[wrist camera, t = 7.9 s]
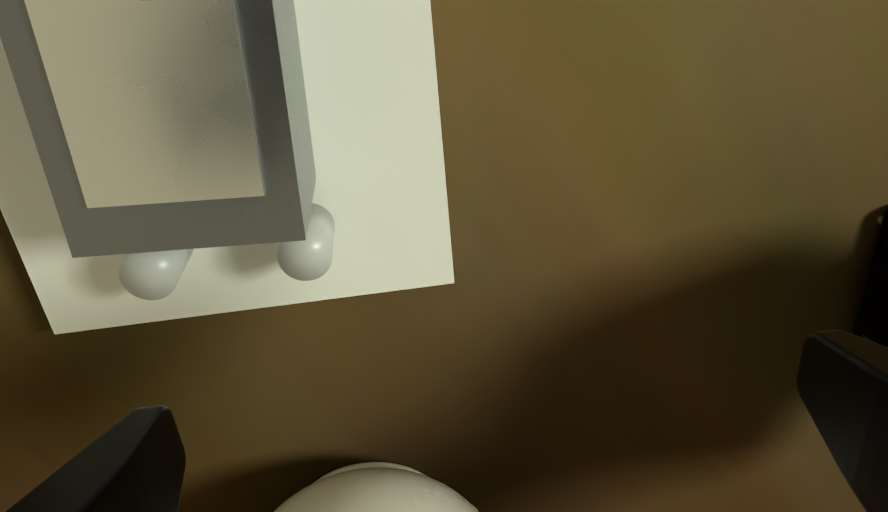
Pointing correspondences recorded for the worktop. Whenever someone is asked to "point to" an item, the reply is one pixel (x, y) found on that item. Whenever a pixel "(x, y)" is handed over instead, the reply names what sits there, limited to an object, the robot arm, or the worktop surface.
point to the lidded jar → (376, 492)
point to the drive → (166, 120)
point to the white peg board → (334, 200)
